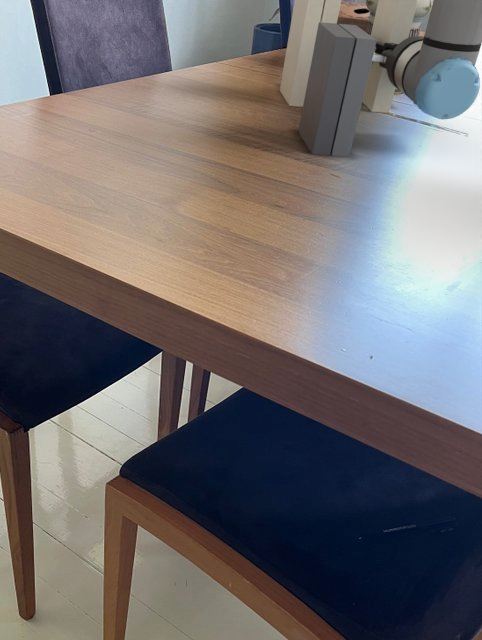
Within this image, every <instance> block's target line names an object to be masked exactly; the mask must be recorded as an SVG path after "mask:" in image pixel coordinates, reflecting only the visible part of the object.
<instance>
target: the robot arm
mask: <svg viewBox="0 0 482 640" xmlns="http://www.w3.org/2000/svg"><path fill="white" fill-rule="evenodd" d="M366 33H367V34H369V33H368V32H366ZM481 47H482V0H433V5H432V9H431V12H430V13H429V17H428V20H427V24H426V28H425V33H424V36H422V35H419V36H413V37H408V38H407V39H405V40H403V41H402V42H401V43H399V44H395V43H381V42H378V41H376V45H375V50H374V54H373V58H372V62H371V65H373V61H375V62H379V65H380V67H383V68H385V69H387V74H388V77H389V80H390V82H391V83H392V84H393V85H394V86H395V87H396V88H397V89H398V90H399V91H401V92H402V93H401V94H403V95H405V96H406V97H407V98H408V99H409V100H410V101H411V102H412V103H413V105H416V106H417V108H418V110H420V111H421V112H422V113H424V114H426V115H428V116H430V117H433V118H435V119H438V120H441V121H442V120H443V121H444V120H450V119H455V118H457V117H459V116H461V115H463V114H464V113H465V112H466V111H467V110H470V108H471V107H472V105H473V104H474V103H475V101H476V100H477V97H478V95H479V93H480V89H481V79H480V78H481V77H480V74H479V71H478V70H477V67H476V63H477V60H478V57H479V54H480V52H481V51H480V50H481Z"/></svg>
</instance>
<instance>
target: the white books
mask: <svg viewBox="0 0 482 640" xmlns="http://www.w3.org/2000/svg"><path fill="white" fill-rule="evenodd" d="M341 1H342V0H294V1H293V2H294V3H293V9H292V14H291V21H290V26H289V32H288V38H287V44H286V45H287V46H286V50H285V56H284V57H285V58H284V64H283V69H282V74H281V80H280V86H279V92H280V94H281V95H282V96H283V98H284V100H285V101H286V103H287V105H288V106H289V107H296V108H297V107H298V108H303V104H304V99H305V93H306V88H307V83H308V78H309V72H310V67H311V62H312V56H313V51H314V46H315V40H316V35H317V30H318V24H319V22H321V23H334V24H337V20H338V15H339V10H340V5H341Z"/></svg>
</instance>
